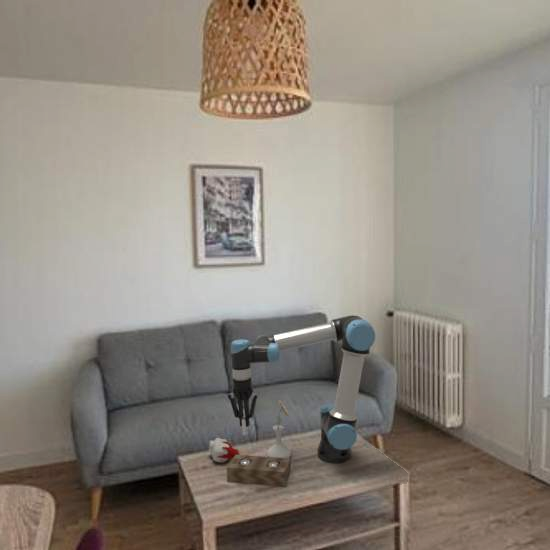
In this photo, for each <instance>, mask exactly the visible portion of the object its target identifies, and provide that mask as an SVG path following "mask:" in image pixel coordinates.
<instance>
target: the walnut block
mask: <svg viewBox="0 0 550 550" xmlns="http://www.w3.org/2000/svg"><path fill="white" fill-rule="evenodd" d="M244 459H248V460H250V465H242V464H240V461H241V460H244ZM270 462H277V463H278V467H268V464H269V463H270ZM291 464H292V461H291V458H275V457H268V456H259V455H249V454H248V455H247V454H239V455H235V456H234V458H231V461H230V462H229V463H228V465H227V466H226V479H227V480H226V481H227V482H228V483H229V482H230V483H239V484H250V485H263V486H271V487H273V486H274V487H283V488H285V487H286V485H287V483H288V480H289V479H290V475H291V473H292V465H291Z"/></svg>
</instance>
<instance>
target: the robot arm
mask: <svg viewBox="0 0 550 550" xmlns="http://www.w3.org/2000/svg"><path fill="white" fill-rule="evenodd" d="M375 340H376V332H375V330H374V327H373V326H372V324H370V322H368V321H367V320H366V319H363V318H362V317H360V316H358V315H346V316H341V317H339V318H334V319H330V321H329V322H327V323H322V324H317V325H313V326H309V327H305V328H300V329H294V330H291V331H285V332H281V333H275V334H272V335H260V336H257V338H256V339H255V340H254V344H250V340H248V339H235V340H233V341H232V342H231V344H230V348H231V349H230V350H231V353H230V354H231V355H230V356H231V366H232V368H231V369H232V370H231V371H232V378H233V379H232V387H233V389H232V391H231V392H230V393H229V394H228V395H227V398H228V399H229V403H230V405H231V408H232V411H233V412H232V413H233V415H234V417H235V418H238V419H239V426H240V427H242V428H241V430H242V436H247V434H248V433H249V426H250V419H252V418H253V417H254V415H255V409H256V405H257V404H256V403H257V399H258V397H259V396H260V395H259V393H255V392H254V390H253V386H252V383H253V382H252V368H251V364H257V363H258V364H259V363H260V364H261V363H273V362H274V363H275V362H278V361H279V360H280V352H282V351H287V350H288V351H289V350H292V349H296V348H301V347H306V346H310V345H314V344H320V343H325V342H329V341H334V342H340V341H342V342H341V347H340V349H341V351H342V352H343V355H342V361H341V366H340V373H339V377H338V378H339V379H338V384H337V390H336V394H335V401H334V403H328V404H327V403H326V404H323V405H321V407H320V411H319V414H320V441H319V444H318V447H317V458H319V459H320V460H321V461H323V462H327V463H331V464H332V463H334V464H337V463H338V464H339V463H344V462H347V461H349V460H351V458H352V448H351V447H353V446H354V445H355V444H356V441H357V439H358V433H357V430H356V426H357V420H358V416H357V415H356V413H355V411H356V404H357V402H358V401H357V400H358V394H359V389H360V384H361V379H362V372H363V368H364V363H365V357H367V356H368V355H370V349H371V348H372V347H373V345H374V343H375ZM250 398H252V400H251V405H250ZM236 399H237V401H236Z"/></svg>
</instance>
